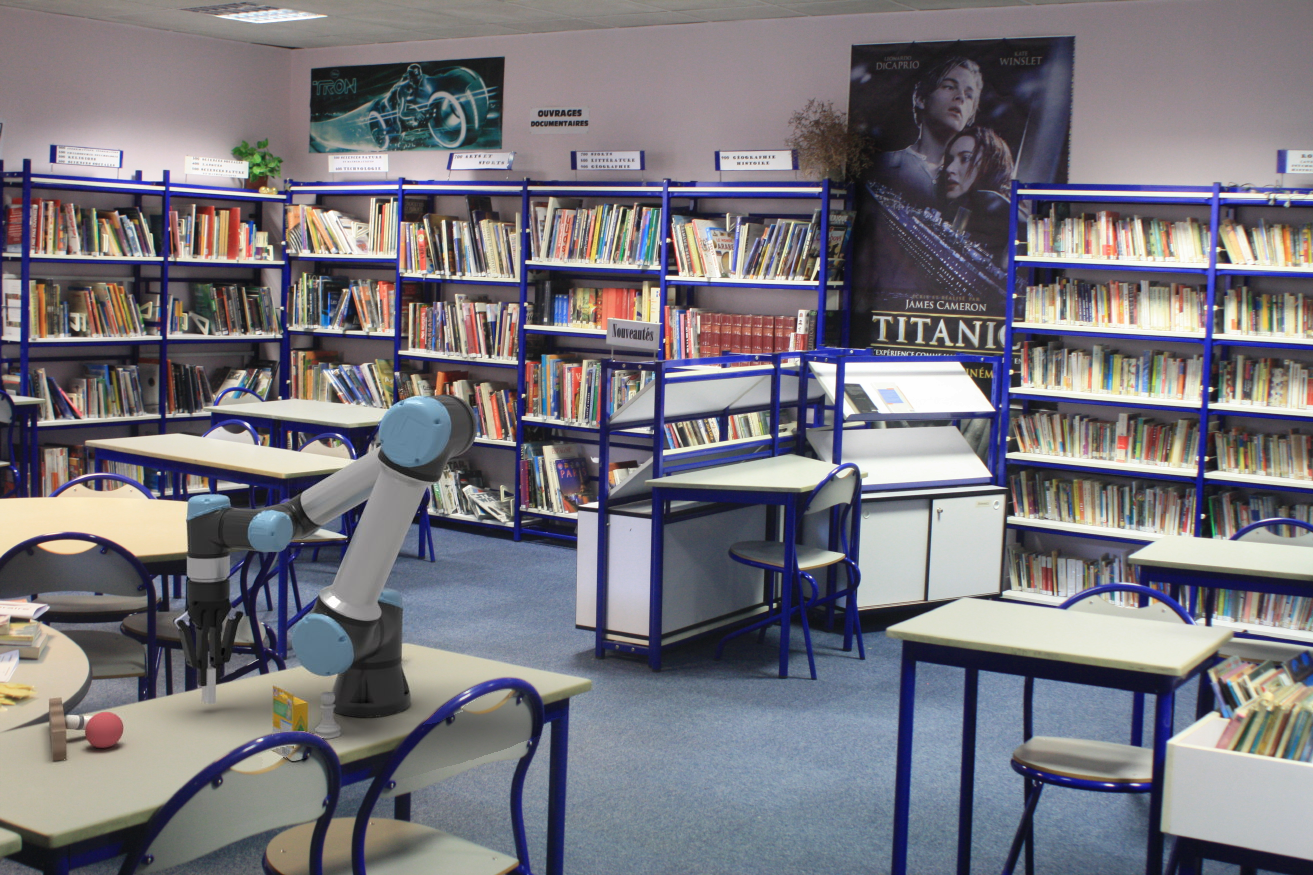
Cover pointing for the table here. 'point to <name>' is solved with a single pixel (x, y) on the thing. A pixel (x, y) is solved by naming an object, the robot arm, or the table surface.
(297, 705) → the crayon box
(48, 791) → the table surface
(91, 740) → the ball
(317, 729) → the chess piece
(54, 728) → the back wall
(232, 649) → the robot arm
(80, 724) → the pin
